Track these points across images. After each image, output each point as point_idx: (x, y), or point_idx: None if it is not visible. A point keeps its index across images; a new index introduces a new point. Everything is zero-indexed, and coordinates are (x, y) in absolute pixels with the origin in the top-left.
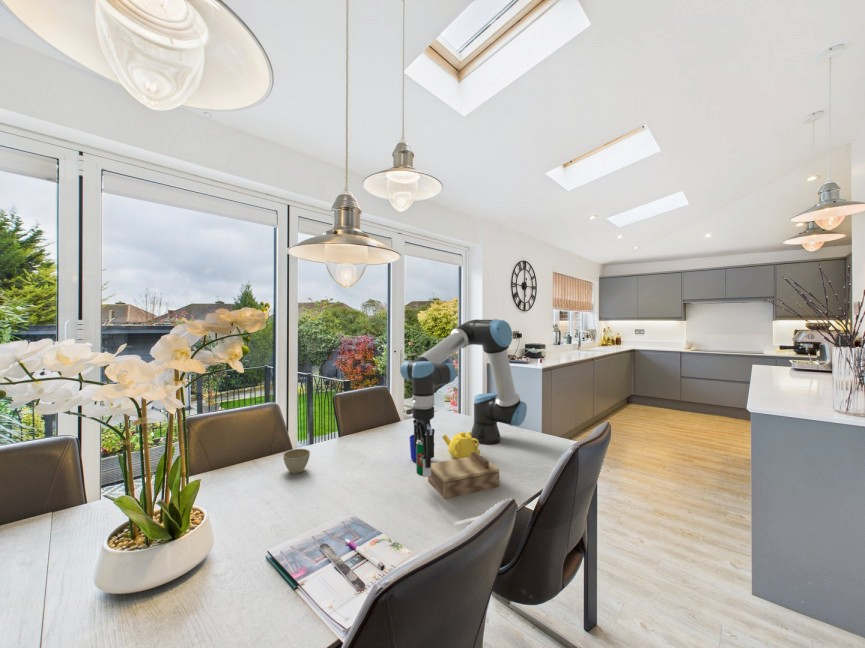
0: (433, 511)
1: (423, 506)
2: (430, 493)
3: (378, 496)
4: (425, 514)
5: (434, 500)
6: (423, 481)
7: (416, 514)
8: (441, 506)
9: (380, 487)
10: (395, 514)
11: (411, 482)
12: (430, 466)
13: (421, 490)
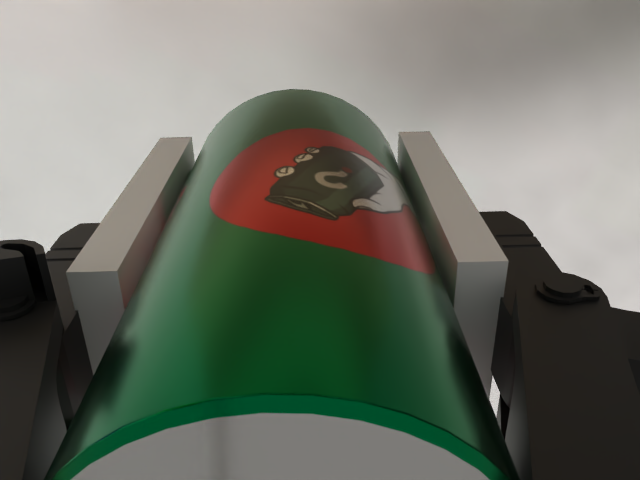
0: (609, 141)
1: (497, 188)
2: (314, 43)
3: None
4: (609, 215)
5: (453, 60)
6: (37, 11)
7: (571, 272)
8: (579, 42)
9: None
10: (494, 389)
11: (37, 139)
12: (522, 223)
13: (227, 105)
